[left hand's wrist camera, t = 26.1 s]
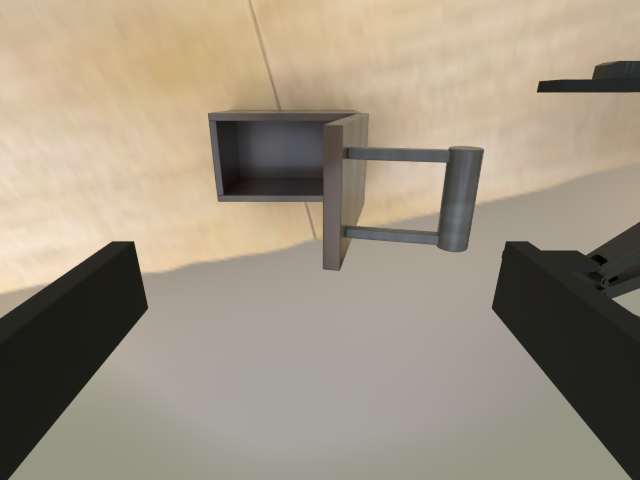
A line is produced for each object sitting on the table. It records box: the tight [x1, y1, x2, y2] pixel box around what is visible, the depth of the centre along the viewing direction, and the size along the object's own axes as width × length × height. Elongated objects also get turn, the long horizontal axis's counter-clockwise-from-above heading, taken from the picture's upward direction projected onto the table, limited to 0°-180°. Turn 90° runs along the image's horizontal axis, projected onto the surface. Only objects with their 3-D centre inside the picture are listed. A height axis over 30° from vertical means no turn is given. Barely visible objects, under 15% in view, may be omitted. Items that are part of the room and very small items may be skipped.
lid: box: [323, 113, 484, 271], centre depth 28 cm, size 16×9×9 cm
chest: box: [208, 110, 360, 202], centre depth 41 cm, size 16×9×10 cm, turn 90°
